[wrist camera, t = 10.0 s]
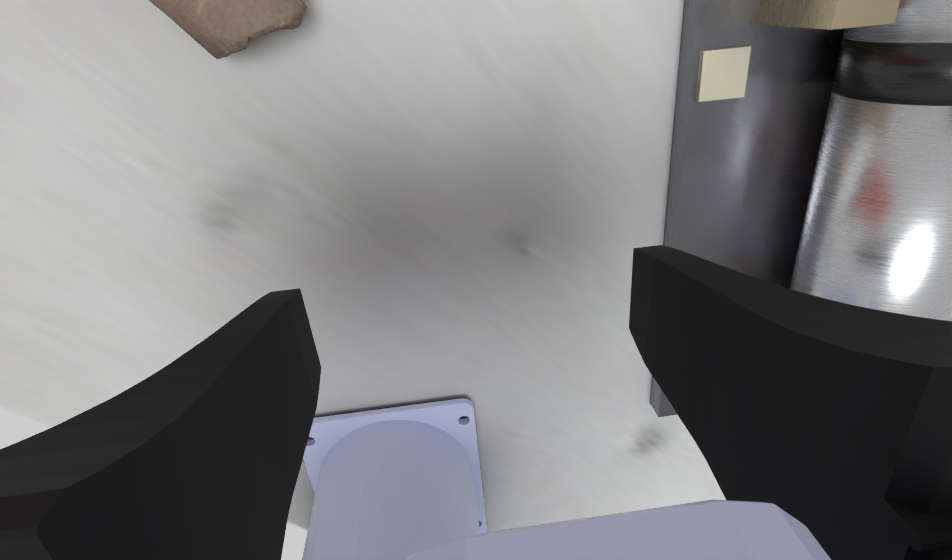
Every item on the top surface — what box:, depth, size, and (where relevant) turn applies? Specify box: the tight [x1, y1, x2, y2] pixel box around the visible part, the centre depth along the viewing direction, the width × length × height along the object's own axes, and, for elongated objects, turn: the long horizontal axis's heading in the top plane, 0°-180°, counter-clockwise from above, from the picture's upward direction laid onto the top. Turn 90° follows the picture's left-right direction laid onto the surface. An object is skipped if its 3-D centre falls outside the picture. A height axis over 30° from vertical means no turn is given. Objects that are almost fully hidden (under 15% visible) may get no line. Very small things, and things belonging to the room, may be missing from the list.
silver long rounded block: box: [790, 0, 952, 321], centre depth 18 cm, size 20×5×6 cm, turn 5°
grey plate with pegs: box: [650, 0, 900, 417], centre depth 19 cm, size 22×14×4 cm, turn 5°
